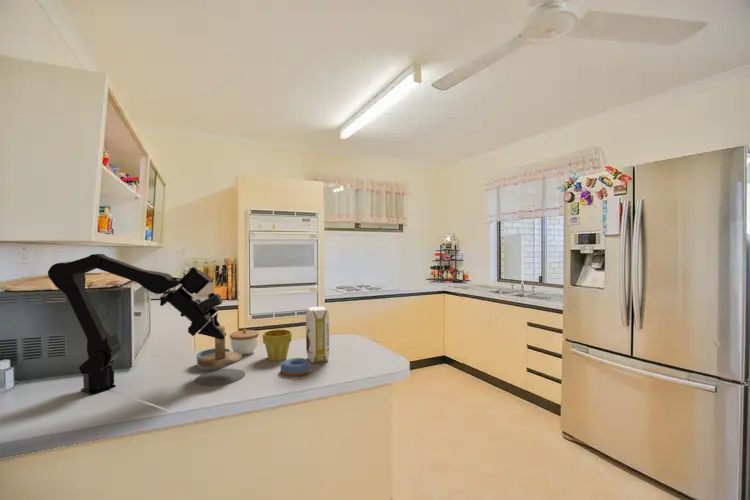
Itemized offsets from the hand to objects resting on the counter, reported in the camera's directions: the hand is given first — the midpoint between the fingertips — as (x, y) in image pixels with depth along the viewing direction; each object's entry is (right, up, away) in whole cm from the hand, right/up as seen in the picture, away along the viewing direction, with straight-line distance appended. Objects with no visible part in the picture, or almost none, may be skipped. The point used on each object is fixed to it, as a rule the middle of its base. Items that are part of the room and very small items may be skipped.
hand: (224, 337), depth 118 cm
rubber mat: (-1, -13, 0) cm, 13 cm away
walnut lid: (-1, -7, 0) cm, 7 cm away
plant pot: (+12, -13, +19) cm, 26 cm away
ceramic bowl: (-9, -13, +12) cm, 20 cm away
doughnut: (+22, -13, +5) cm, 26 cm away
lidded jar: (-3, -13, +26) cm, 29 cm away
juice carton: (+27, -13, +18) cm, 35 cm away
